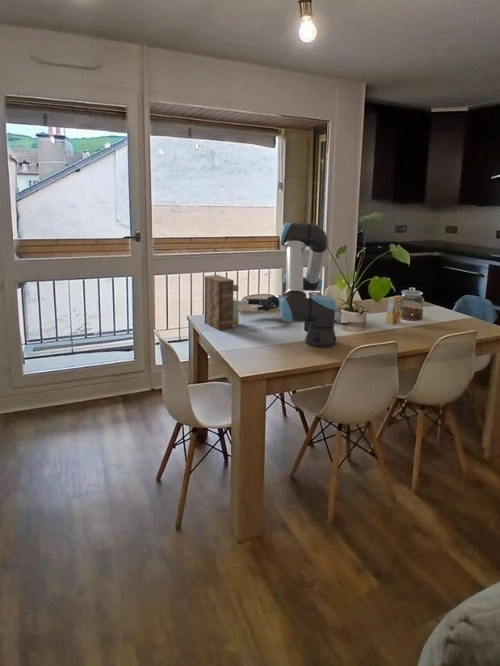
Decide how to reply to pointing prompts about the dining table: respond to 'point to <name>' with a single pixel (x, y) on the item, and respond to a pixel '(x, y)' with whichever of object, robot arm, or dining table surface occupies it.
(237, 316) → the pale green tall block
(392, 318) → the candy box
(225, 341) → the dining table surface
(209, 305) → the cabinet
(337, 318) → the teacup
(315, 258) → the robot arm
